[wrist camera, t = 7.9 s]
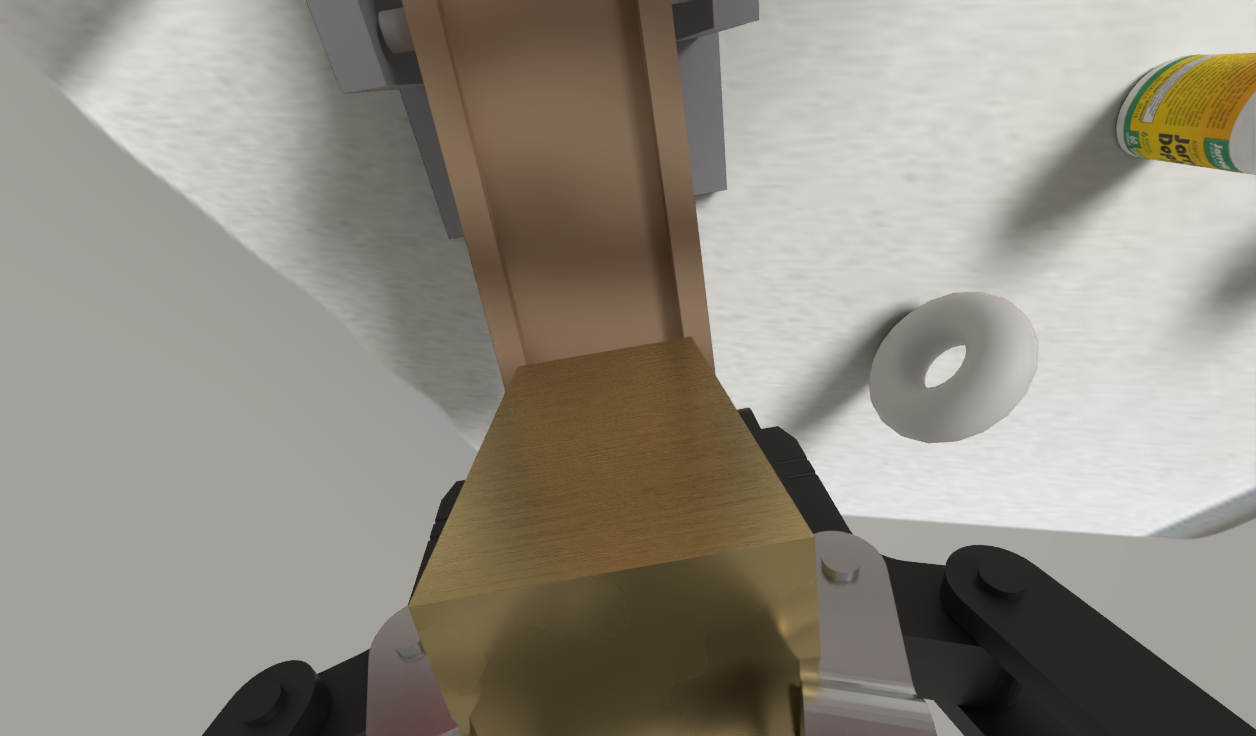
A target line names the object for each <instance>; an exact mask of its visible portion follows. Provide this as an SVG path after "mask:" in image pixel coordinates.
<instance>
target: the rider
mask: <svg viewBox="0 0 1256 736" xmlns="http://www.w3.org/2000/svg"><path fill="white" fill-rule="evenodd" d="M408 609H409V612H410V614H411V617H412V619H413V622H414V624H415V627H416V629H417V632H418V634H419V637H420V639H421V642H422V645H423V647H424V650H425V652H426V655H427V657H428V660H429V662H430V665H431V667H432V670H433V672H434V675H435V677H436V680H437V682H438V685H439V687H440V690H441V693H442V695H443V698H444V700H445V703H446V705H447V708H448V710H449V713H450V715H451V718H452V719H455V718H461V717H467V716H469V718H470V720H471V722H472V724H473V726H474V728H475V731H476V733H477V735H478V736H800V694H799V660H800V659H806V658H812V657H818V656H821V645H820V626H819V607H818V589H817V570H816V551H815V536H814V535H813V533H812V532H811V530H810V528H809V527H808V525H807V523H806V522H805V520H804V519H803V517H802V515H801V514H800V512H799V510H798V509H797V507H796V506H795V504H794V502H793V501H792V499H791V497H790V496H789V494H788V493H787V491H786V489H785V488H784V486H783V484H782V483H781V481H780V480H779V478H778V476H777V475H776V473H775V471H774V470H773V468H772V467H771V465H770V463H769V462H768V460H767V458H766V457H765V455H764V454H763V452H762V450H761V449H760V447H759V445H758V444H757V442H756V441H755V439H754V437H753V436H752V434H751V432H750V431H749V429H748V428H747V426H746V424H745V423H744V421H743V419H742V418H741V416H740V415H739V413H738V411H737V410H736V408H735V406H734V405H733V403H732V402H731V400H730V398H729V397H728V395H727V393H726V392H725V390H724V389H723V387H722V385H721V384H720V382H719V380H718V379H717V377H716V376H715V374H714V372H713V371H712V369H711V367H710V366H709V364H708V362H707V361H706V359H705V358H704V356H703V354H702V353H701V351H700V349H699V348H698V346H697V345H696V343H695V341H694V340H693V338H692V336H690V337H685V338H679V339H673V340H667V341H662V342H656V343H650V344H644V345H639V346H633V347H627V348H622V349H616V350H610V351H604V352H599V353H593V354H587V355H582V356H576V357H570V358H564V359H559V360H553V361H547V362H542V363H536V364H530V365H524V366H519V367H517V368H516V371H515V373H514V375H513V377H512V379H511V382H510V384H509V386H508V388H507V390H506V393H505V395H504V397H503V399H502V401H501V404H500V406H499V408H498V410H497V412H496V414H495V417H494V419H493V421H492V423H491V425H490V428H489V430H488V432H487V434H486V436H485V439H484V441H483V443H482V445H481V447H480V450H479V452H478V454H477V456H476V458H475V461H474V463H473V465H472V467H471V469H470V472H469V474H468V476H467V478H466V480H465V482H464V485H463V487H462V489H461V491H460V493H459V496H458V498H457V500H456V502H455V504H454V507H453V509H452V511H451V513H450V515H449V518H448V520H447V522H446V524H445V526H444V528H443V531H442V533H441V535H440V537H439V539H438V542H437V544H436V546H435V548H434V550H433V553H432V555H431V557H430V559H429V561H428V564H427V566H426V568H425V570H424V572H423V575H422V577H421V579H420V581H419V583H418V585H417V588H416V590H415V592H414V594H413V596H412V599H411V601H410V603H409V605H408Z"/></svg>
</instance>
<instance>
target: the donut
mask: <svg viewBox="0 0 1256 736" xmlns="http://www.w3.org/2000/svg"><path fill="white" fill-rule="evenodd" d="M960 345H965V346H966V355H965V359H964V361H963V363H962V365H961V367H960V368H959V370H958V371H957V372H956V373H955V375H954V376H952V377H951V378H950V379H948V380H947V381H946V382H944V383H942V384H940V385H938V386H936V387H931V388H926V387H925V376H926V373H927V371H928V368H929V366H930V365H931V364H932V363H933V361H934V360H935V359H936V358H937V357H938V356H939V355H941V354H942V353H943V352H944V351H946V350H948V349H950V348H952V347H956V346H960ZM1037 362H1038V339H1037V336H1036V334H1035V331H1034V329H1033V326H1032V324H1031V321H1030V320H1029V318H1028V317H1027V316H1026V315H1025V314H1024V313H1023V312H1022V311H1021V310H1019V309H1018V308H1017V307H1016V306H1015V305H1014V304H1012V303H1011V302H1010V301H1008V300H1006V299H1004V298H1001V297H998V296H994V295H991V294H987V293H984V292H964V293H952V294H949V295H946V296H943V297H940V298H937V299H934V300H931V301H929V302H927V303H925V304H924V305H922V306H920V307H919V308H917V309H915V310H913V311H912V312H910V313H909V314H908V315H906V316H905V317H904V318H903V319H902V320H901V321H900V322H899V323H897V324H896V325H895V326H894V327H893V328H892V330H891V331H890V332H889V334H888V335H887V336H886V337H885V339H884V340H883V341H882V343H881V344H880V347H879V349H878V351H877V353H876V355H875V357H874V359H873V362H872V367H871V372H870V378H869V389H870V397H871V401H872V404H873V406H874V408H875V410H876V411H877V413H878V415H879V417H880V418H881V420H882V421H883V422H884V423H885V424H886V425H888V426H889V427H890V428H892V429H893V430H894V431H896V432H897V433H898V434H900V435H901V436H904V437H907V438H910V439H914V440H918V441H922V442H925V443H939V442H954V441H960V440H962V439H965V438H968V437H971V436H974V435H976V434H979V433H982V432H984V431H986V430H987V429H989V428H990V427H992V426H993V425H994V424H996V423H997V422H999V421H1000V420H1002V419H1003V418H1005V417H1006V416H1008V414H1009V413H1010V412H1011V411H1012V410H1013V409H1014V407H1015V406H1016V405H1017V404H1018V403H1019V402H1020V400H1021V399H1022V398H1023V397H1024V396H1025V395H1026V393H1027V391H1028V389H1029V387H1030V384H1031V382H1032V380H1033V378H1034V375H1035V373H1036V371H1037Z"/></svg>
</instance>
